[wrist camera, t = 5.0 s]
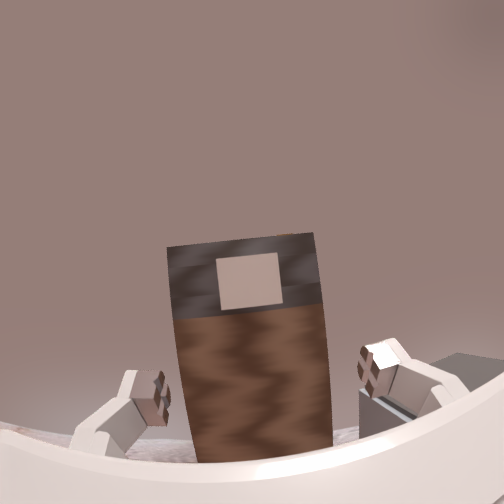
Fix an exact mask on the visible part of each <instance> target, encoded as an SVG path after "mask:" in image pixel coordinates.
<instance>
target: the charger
mask: <svg viewBox="0 0 504 504" xmlns="http://www.w3.org/2000/svg"><path fill="white" fill-rule="evenodd" d="M216 265H217V274H218V284H219V293H220V301H221V310H228V309H238V308H247V307H256V306H264V305H272V304H280V303H283V300H282V291H281V281H280V272H279V263H278V255H277V252H276V253H267V254H258V255H248V256H239V257H229V258H219V259H216Z"/></svg>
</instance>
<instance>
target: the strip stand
mask: <svg viewBox="0 0 504 504" xmlns="http://www.w3.org/2000/svg"><path fill="white" fill-rule="evenodd" d="M276 252H277V255H278V263H279V272H280V281H281V291H282V300H283V303H280V304H272V305H264V306H256V307H247V308H238V309H228V310H221V301H220V293H219V284H218V274H217V265H216V259H219V258H229V257H239V256H248V255H258V254H267V253H276ZM167 260H168V274H169V286H170V297H171V307H172V316H173V325H174V333H175V341H176V348H177V356H178V363H179V369H180V375H181V381H182V388H183V393H184V399H185V404H186V410H187V415H188V420H189V425H190V430H191V434H192V439H193V444H194V448H195V452H196V457H197V461H198V463H225V462H240V461H251V460H260V459H269V458H276V457H283V456H289V455H295V454H300V453H306V452H311V451H315V450H320V449H324V448H329V447H333V430H332V408H331V407H332V406H331V389H330V374H329V361H328V349H327V338H326V328H325V318H324V309H323V301H322V292H321V284H320V277H319V270H318V262H317V255H316V248H315V242H314V235H313V232H311V233H301V234H282V235H277V236H270V237H260V238H250V239H240V240H231V241H221V242H212V243H203V244H193V245H184V246H175V247H167Z"/></svg>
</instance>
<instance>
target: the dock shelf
mask: <svg viewBox="0 0 504 504" xmlns="http://www.w3.org/2000/svg"><path fill="white" fill-rule="evenodd" d="M429 365H431V366H433V367H436V368H438V369H440V370H443V371H445V372H448V373H450V374H453V375H456V376H457V377H458V378H459V379H460V381H461V382H462V383H463V384H464V385H465V387H466V388H467V389H468V390H469V392H472V391H474V390H476V389H477V388H479V387H481V386H482V385H484V384H486V383H487V382H489V381H490V380H492V379H494V378H495V377H497V376H498V375H500V374H501V373H503V372H504V360H499V359H492V358H486V357H479V356H473V355H467V354H461V353H455V354H453V355H451V356H448V357H446V358H444V359H441V360H439V361H436V362H434V363H431V364H429ZM365 388H366V385H365ZM365 388H363V389H359V439H362V438H365V437H368V436H371V435H374V434H377V433H380V432H383V431H386V430H389V429H392V428H395V427H397V426H400V425H402V424H405V423H407V422H410V421H412V420H415V419H416V418H417V416H418V414H417V413H416V412H414V411H413V410H411V409H409V408H408V407H406V406H405V405H403V404H402V403H400V402H399V401H397V400H395V399H394V398H392V397H391V396H389V394H387V395H384V396H380V397H377V398H373V399H371V398H370V396H369V394H368V392H367V390H366V389H365Z"/></svg>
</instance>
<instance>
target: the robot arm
mask: <svg viewBox="0 0 504 504" xmlns="http://www.w3.org/2000/svg"><path fill="white" fill-rule="evenodd" d="M360 354H361V356H362V357H361V358H360V360H359V361H358V366H357V367H358V374H359V377H360V379H361V381H362V382H364V383H366V388H365V389H366V390H367V392H368V394H369V396H370V398H371V399H373V398H377V397H380V396H384V395H387V394H389V396H391V397H392V398H394V399H395V400H397V401H399V402H400V403H402V404H403V405H405V406H406V407H408V408H409V409H411V410H413V411H414V412H416V413H417V414H418V416H417V418H416V419H415V420H412V421H410V422H407V423H405V424H402V425H400V426H397V427H395V428H392V429H389V430H386V431H383V432H380V433H377V434H374V435H371V436H368V437H365V438H362V439H359V440H355V441H352V442H348V443H344V444H341V445H337V446H333V447H329V448H324V449H320V450H315V451H311V452H306V453H300V454H295V455H289V456H283V457H276V458H269V459H260V460H251V461H240V462H225V463H165V462H150V461H139V460H130V459H129V458H128V457H127V456H126V455H125V453H126V452H127V451H128V450H129V448H130V447H131V446H132V445H133V444H134V443H135V441H136V440H137V439H138V438H139V436H141V434H142V433H143V432H144V431H145V430H146V428H147V426H167V423H168V416H169V413H168V411H167V408H168V407H169V406H170V402H171V399H170V398H171V396H170V390H169V387H168V384H166V383H165V382H164V379H165V376H164V374H163V372H162V371H149V370H146V371H145V370H144V371H143V370H138V371H137V370H136V371H135V370H128V371H126V372H125V375H124V377H123V380H122V383H121V386H120V389H119V392H118V395H117V398H112V399H111V400H110V401H109V402H107V403H106V404H105V405H104V406H102V407H101V408H100V409H98V411H96V412H95V413H93V414H92V415H91V416H90V417H88V418H87V419H86V420H85V421H83V422H82V423H81V424H79V425H78V426H77V427H76V430H75V432H74V435H73V438H72V440H71V443H70V446H69V448H65V447H61V446H57V445H54V444H50V443H47V442H43V441H40V440H37V439H34V438H31V437H28V436H25V435H22V434H20V433H17V432H14V431H12V430H9V429H1V430H0V504H504V372H503V373H501V374H500V375H498V376H497V377H495V378H494V379H492V380H490V381H489V382H487V383H486V384H484V385H482V386H481V387H479V388H477V389H476V390H474V391H472V392H469V390H468V389H467V388H466V387H465V385H464V384H463V383H462V382H461V381H460V379H459V378H458V377H457V376H456V375H453V374H450V373H448V372H445V371H443V370H440V369H438V368H436V367H433V366H431V365H428V364H426V363H423V362H421V361H418V360H416V359H413V360H412V359H411V358H410V356H409V355H408V354H407V353H406V351H405V350H404V349H403V348H402V346H401V345H400V344H399V343H398V341H397V340H396V339H395V338H391V339H387V340H383V341H380V342H376V343H372V344H368V345H364V346H362V348H361V351H360Z"/></svg>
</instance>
